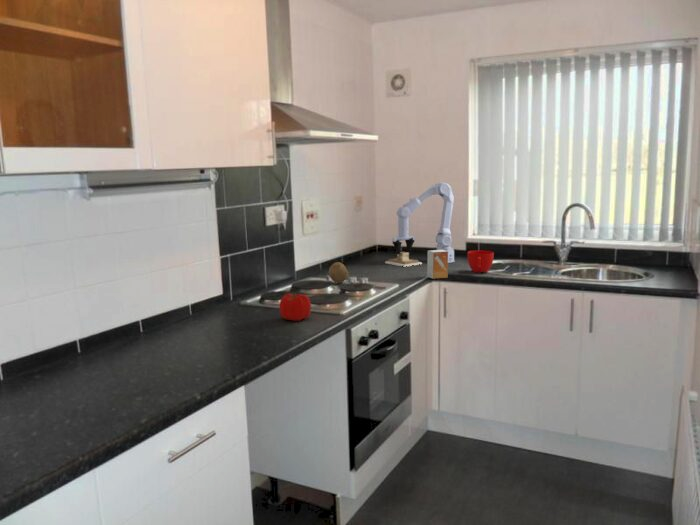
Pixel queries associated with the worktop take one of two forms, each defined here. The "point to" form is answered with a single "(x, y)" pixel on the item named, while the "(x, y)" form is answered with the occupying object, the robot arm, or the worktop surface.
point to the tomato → (295, 307)
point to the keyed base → (402, 263)
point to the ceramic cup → (480, 260)
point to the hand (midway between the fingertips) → (403, 253)
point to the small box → (437, 264)
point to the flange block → (403, 257)
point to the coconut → (338, 272)
